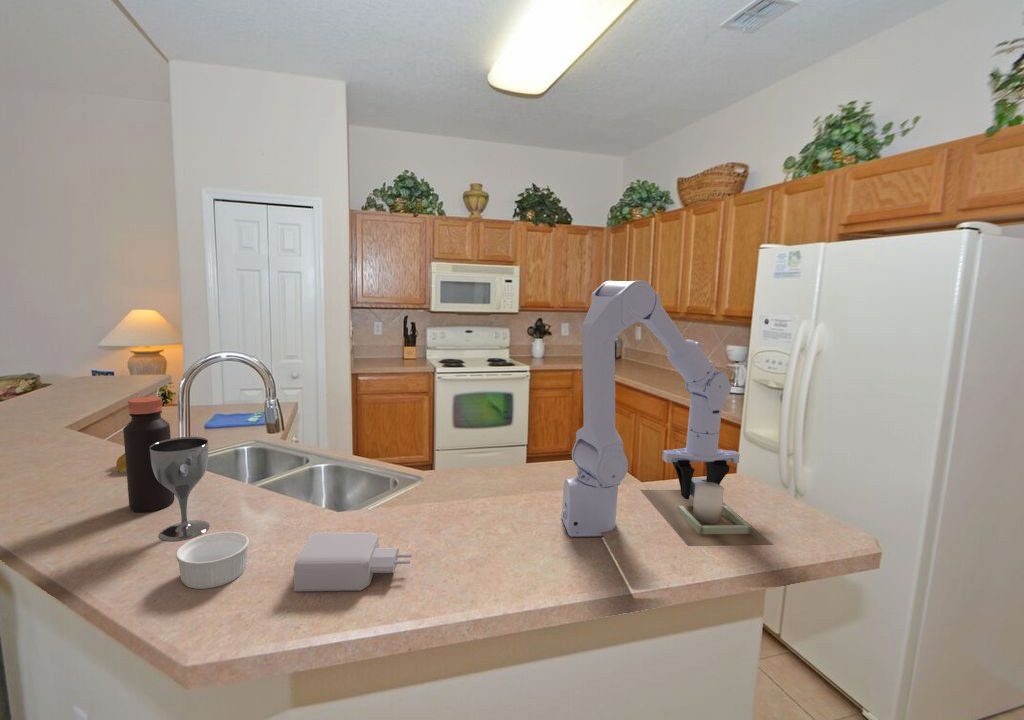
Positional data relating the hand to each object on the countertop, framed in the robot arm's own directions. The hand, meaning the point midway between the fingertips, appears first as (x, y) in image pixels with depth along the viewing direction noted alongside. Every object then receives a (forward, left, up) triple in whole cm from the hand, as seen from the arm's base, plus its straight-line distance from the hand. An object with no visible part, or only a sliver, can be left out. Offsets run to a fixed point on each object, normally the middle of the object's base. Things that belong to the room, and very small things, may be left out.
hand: (697, 497), depth 97 cm
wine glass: (-92, -6, -3) cm, 92 cm away
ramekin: (-81, -19, -3) cm, 83 cm away
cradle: (0, -6, -2) cm, 7 cm away
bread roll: (-118, +24, -3) cm, 120 cm away
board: (-1, -3, -3) cm, 4 cm away
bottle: (-103, +4, -3) cm, 103 cm away
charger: (-61, -20, -3) cm, 64 cm away
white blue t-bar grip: (0, -3, -2) cm, 3 cm away
